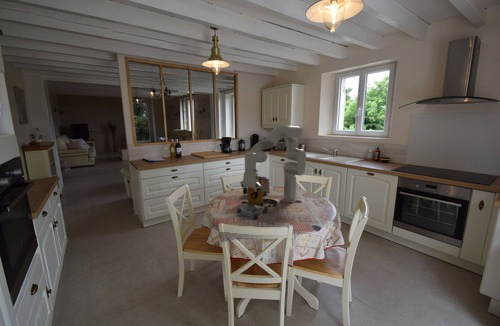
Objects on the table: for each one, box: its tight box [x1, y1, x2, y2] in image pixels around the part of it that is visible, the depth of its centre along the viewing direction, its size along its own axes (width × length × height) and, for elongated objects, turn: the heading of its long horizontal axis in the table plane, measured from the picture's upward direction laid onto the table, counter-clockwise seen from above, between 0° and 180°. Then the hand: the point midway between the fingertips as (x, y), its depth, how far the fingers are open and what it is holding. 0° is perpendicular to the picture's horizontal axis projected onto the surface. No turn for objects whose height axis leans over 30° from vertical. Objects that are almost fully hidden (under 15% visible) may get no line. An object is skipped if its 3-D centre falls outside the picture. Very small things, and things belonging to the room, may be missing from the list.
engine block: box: [244, 204, 256, 214], centre depth 153 cm, size 6×4×5 cm
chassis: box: [236, 202, 269, 220], centre depth 156 cm, size 18×15×4 cm
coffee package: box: [247, 175, 264, 206], centre depth 173 cm, size 10×12×22 cm
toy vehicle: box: [246, 176, 270, 196], centre depth 192 cm, size 9×20×15 cm, turn 107°
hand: (250, 195), depth 151 cm, fingers open, 8 cm apart
